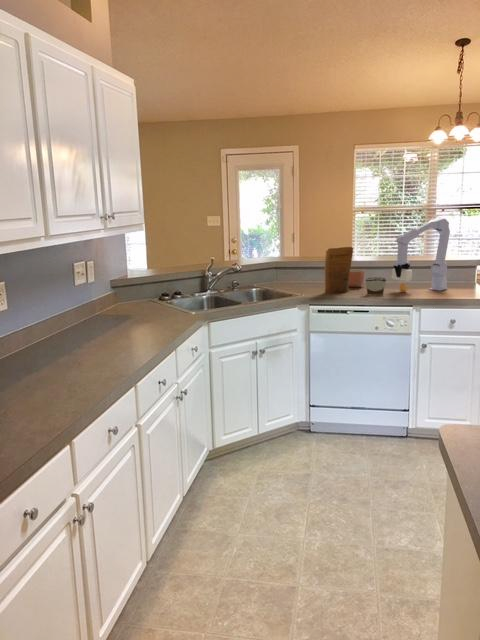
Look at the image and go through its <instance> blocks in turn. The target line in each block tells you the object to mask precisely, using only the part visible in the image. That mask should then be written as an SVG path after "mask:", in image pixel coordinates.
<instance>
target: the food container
mask: <svg viewBox="0 0 480 640" xmlns="http://www.w3.org/2000/svg"><path fill="white" fill-rule="evenodd" d="M365 282H366V295H367V296H384V292H385V285H386V284H385V283H387V279H386V277H381V276H380V277H379V276H377V277H376V276H370V277H366V278H365V279H364V283H365Z"/></svg>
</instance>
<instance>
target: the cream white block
mask: <svg viewBox="0 0 480 640" xmlns="http://www.w3.org/2000/svg"><path fill="white" fill-rule="evenodd" d="M391 274H392V275H391V280H395V281H402V282H409V281H412V278H413V269H402V270H401V276H400V277H397V276H396V272H395V269H394V268H392V271H391Z"/></svg>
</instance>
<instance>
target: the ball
mask: <svg viewBox="0 0 480 640" xmlns="http://www.w3.org/2000/svg"><path fill="white" fill-rule="evenodd" d="M408 288H409V287H408V285H407V284H406V283H402V284H400V285H399V287H398V289H399V291H400V292H401V293H406V292H407V291H408Z"/></svg>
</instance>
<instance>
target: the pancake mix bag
mask: <svg viewBox="0 0 480 640" xmlns="http://www.w3.org/2000/svg"><path fill="white" fill-rule="evenodd" d="M353 253H354V247H352V246H345V247H342V246H341V247H334V248H331V247H330V248H328V249H327V250H326V251H325V259H324V294H325V293H326V294H336V293H337V294H339V293H348V292H349V291H350V289H349V288H350V287H349V286H348V282H349V272H350V269H351V266H352V261H353V260H352V259H353Z"/></svg>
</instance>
